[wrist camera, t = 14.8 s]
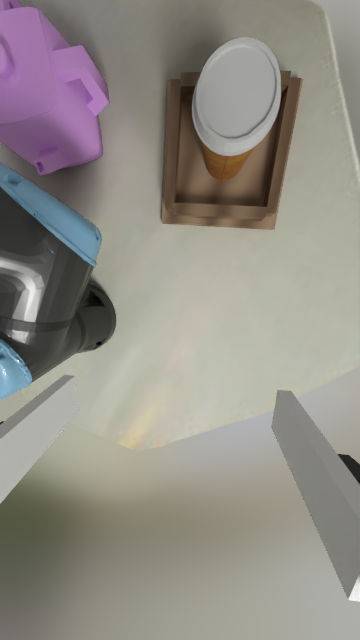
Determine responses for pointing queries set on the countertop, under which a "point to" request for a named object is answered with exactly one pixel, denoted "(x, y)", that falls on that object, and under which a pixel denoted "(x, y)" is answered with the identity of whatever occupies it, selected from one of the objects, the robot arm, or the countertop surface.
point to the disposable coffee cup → (235, 103)
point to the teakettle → (47, 93)
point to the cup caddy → (237, 192)
